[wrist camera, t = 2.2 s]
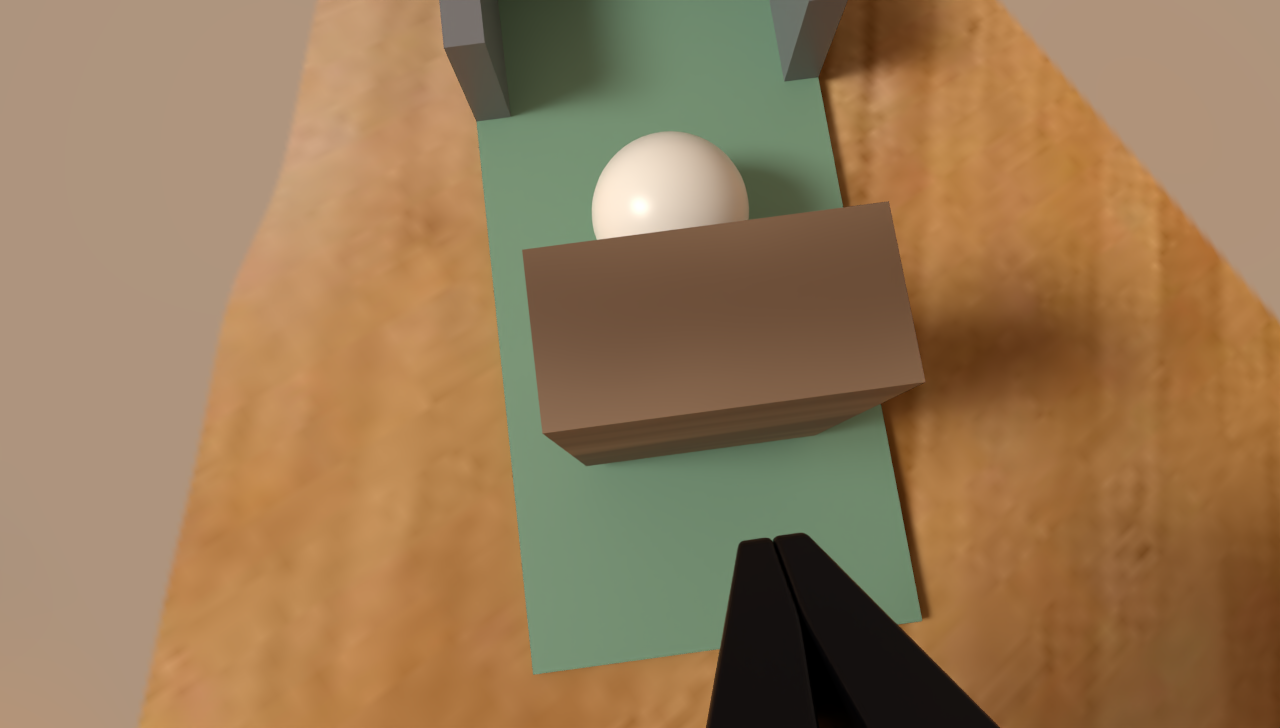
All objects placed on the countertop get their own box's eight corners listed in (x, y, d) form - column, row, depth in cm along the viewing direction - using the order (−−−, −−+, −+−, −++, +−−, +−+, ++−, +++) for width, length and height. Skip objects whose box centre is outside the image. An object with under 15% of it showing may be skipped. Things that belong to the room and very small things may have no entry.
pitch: (918, 619, 21) (922, 621, 20) (535, 672, 20) (533, 674, 20) (789, -57, 24) (791, -65, 24) (464, -16, 24) (462, -22, 24)
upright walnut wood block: (814, 435, 21) (925, 382, 12) (586, 466, 21) (542, 433, 12) (795, 324, 21) (888, 201, 13) (572, 354, 21) (522, 249, 13)
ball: (750, 298, 22) (772, 250, 18) (606, 317, 22) (596, 274, 18) (728, 163, 23) (744, 90, 19) (589, 181, 23) (576, 112, 19)
